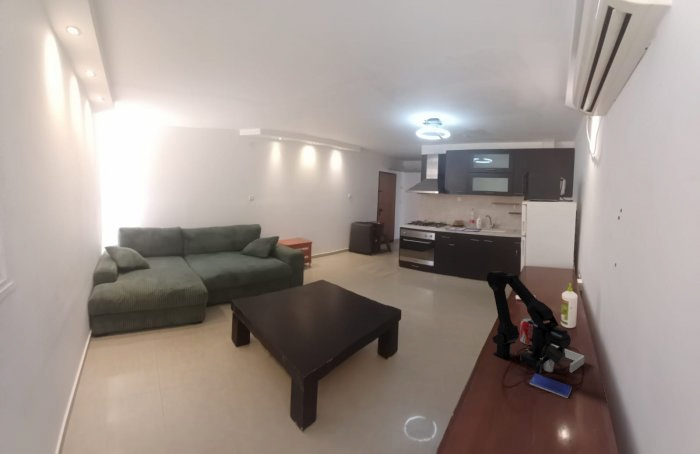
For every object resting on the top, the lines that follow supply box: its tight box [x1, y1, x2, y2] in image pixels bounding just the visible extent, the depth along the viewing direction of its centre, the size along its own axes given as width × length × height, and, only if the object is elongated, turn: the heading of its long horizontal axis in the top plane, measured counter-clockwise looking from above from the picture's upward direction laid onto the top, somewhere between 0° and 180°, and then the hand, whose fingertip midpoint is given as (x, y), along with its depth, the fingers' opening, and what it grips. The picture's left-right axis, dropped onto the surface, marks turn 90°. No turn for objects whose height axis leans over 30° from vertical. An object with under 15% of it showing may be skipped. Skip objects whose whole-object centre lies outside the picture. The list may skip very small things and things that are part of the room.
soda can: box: [519, 317, 533, 346], centre depth 154 cm, size 7×7×12 cm
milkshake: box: [543, 359, 555, 373], centre depth 130 cm, size 4×5×10 cm
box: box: [551, 343, 586, 374], centre depth 137 cm, size 13×14×4 cm
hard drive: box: [529, 373, 573, 399], centre depth 120 cm, size 2×8×12 cm
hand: (538, 373), depth 126 cm, fingers closed
